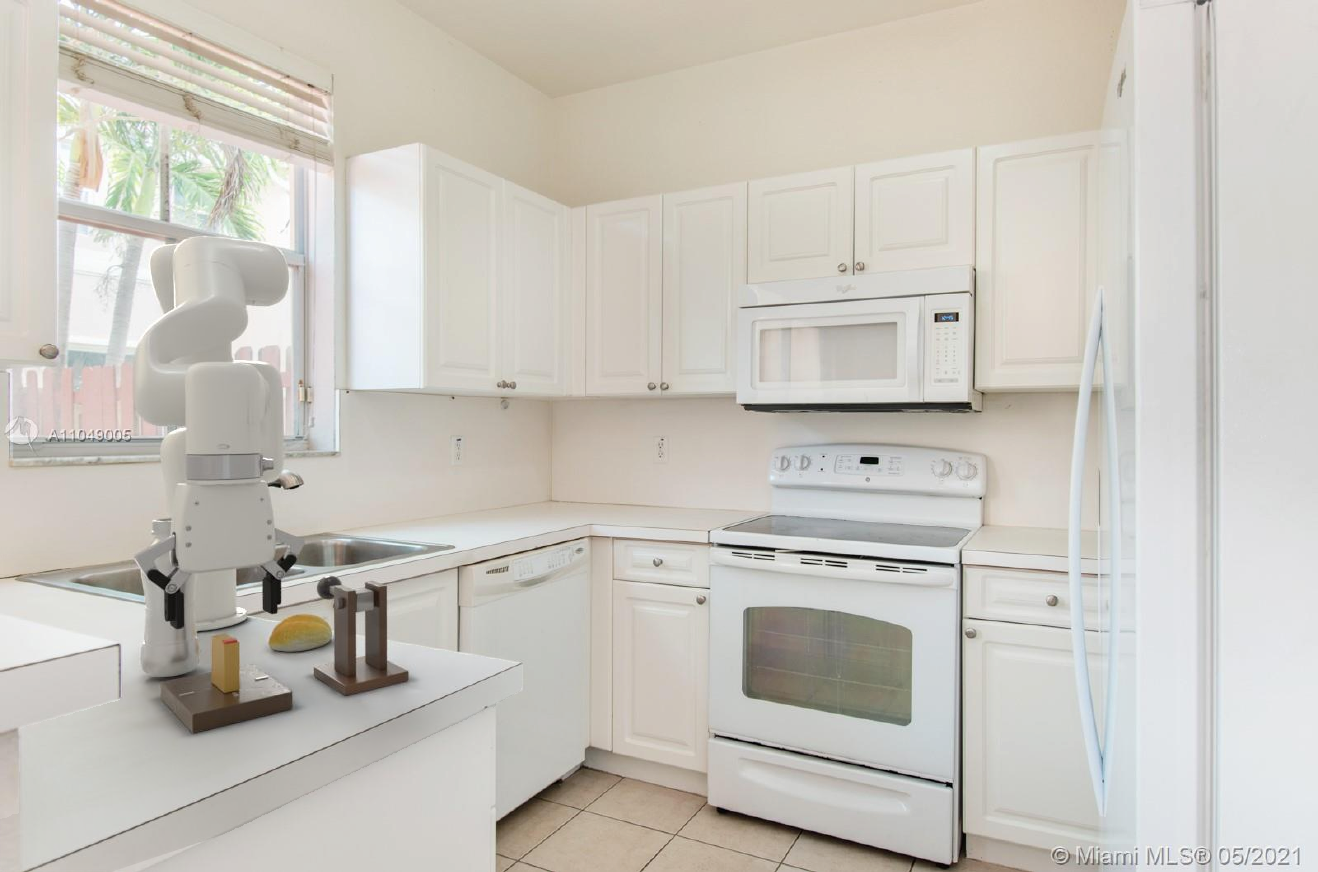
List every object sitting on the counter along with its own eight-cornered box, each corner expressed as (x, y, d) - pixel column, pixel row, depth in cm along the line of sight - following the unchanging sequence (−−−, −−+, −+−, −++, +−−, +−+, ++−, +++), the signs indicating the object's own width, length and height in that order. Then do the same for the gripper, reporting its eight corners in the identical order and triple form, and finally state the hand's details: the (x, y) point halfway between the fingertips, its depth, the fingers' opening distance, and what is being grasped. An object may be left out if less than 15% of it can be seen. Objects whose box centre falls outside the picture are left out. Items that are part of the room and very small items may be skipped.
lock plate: (160, 698, 91) (160, 680, 91) (252, 679, 98) (252, 662, 98) (192, 733, 81) (192, 712, 81) (292, 708, 88) (292, 689, 88)
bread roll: (266, 655, 107) (266, 627, 107) (274, 638, 116) (273, 612, 116) (330, 649, 110) (330, 621, 110) (333, 633, 119) (333, 607, 119)
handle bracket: (313, 675, 99) (313, 584, 99) (374, 662, 105) (374, 575, 104) (345, 695, 92) (345, 597, 92) (408, 680, 97) (408, 587, 97)
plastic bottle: (173, 685, 95) (171, 523, 95) (127, 681, 97) (125, 522, 96) (213, 668, 102) (212, 517, 101) (169, 665, 103) (168, 515, 103)
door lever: (313, 599, 105) (313, 575, 105) (336, 595, 107) (336, 572, 107) (352, 616, 96) (352, 590, 96) (377, 612, 98) (377, 587, 98)
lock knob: (211, 682, 90) (211, 633, 90) (226, 679, 91) (226, 631, 91) (224, 693, 87) (223, 642, 87) (239, 689, 88) (239, 639, 88)
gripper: (291, 466, 97) (292, 602, 97) (127, 472, 85) (128, 627, 85) (313, 468, 92) (314, 612, 92) (142, 474, 80) (143, 639, 80)
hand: (225, 619), depth 89 cm, fingers open, 9 cm apart
